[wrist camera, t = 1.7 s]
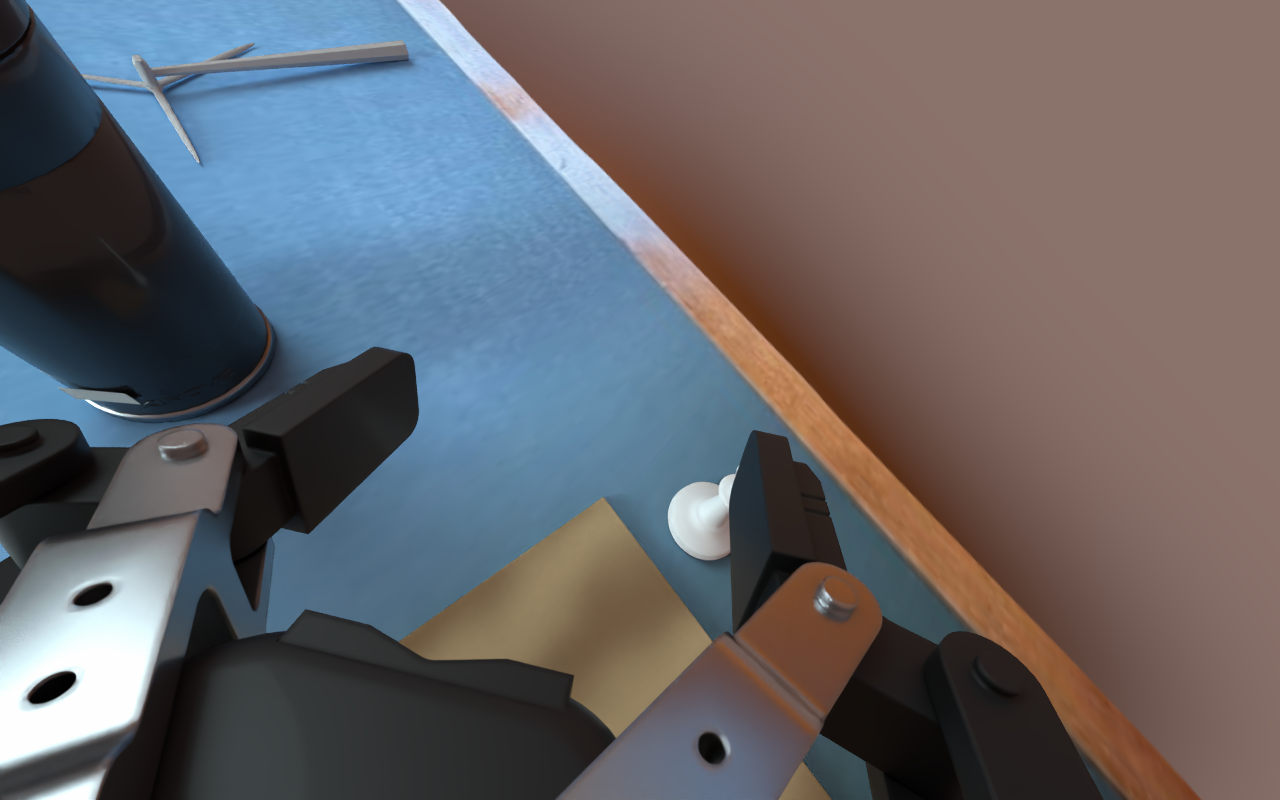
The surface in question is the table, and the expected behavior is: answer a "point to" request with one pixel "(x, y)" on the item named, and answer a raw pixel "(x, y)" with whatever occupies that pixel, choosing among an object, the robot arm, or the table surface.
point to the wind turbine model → (252, 68)
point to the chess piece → (702, 519)
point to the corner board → (584, 623)
